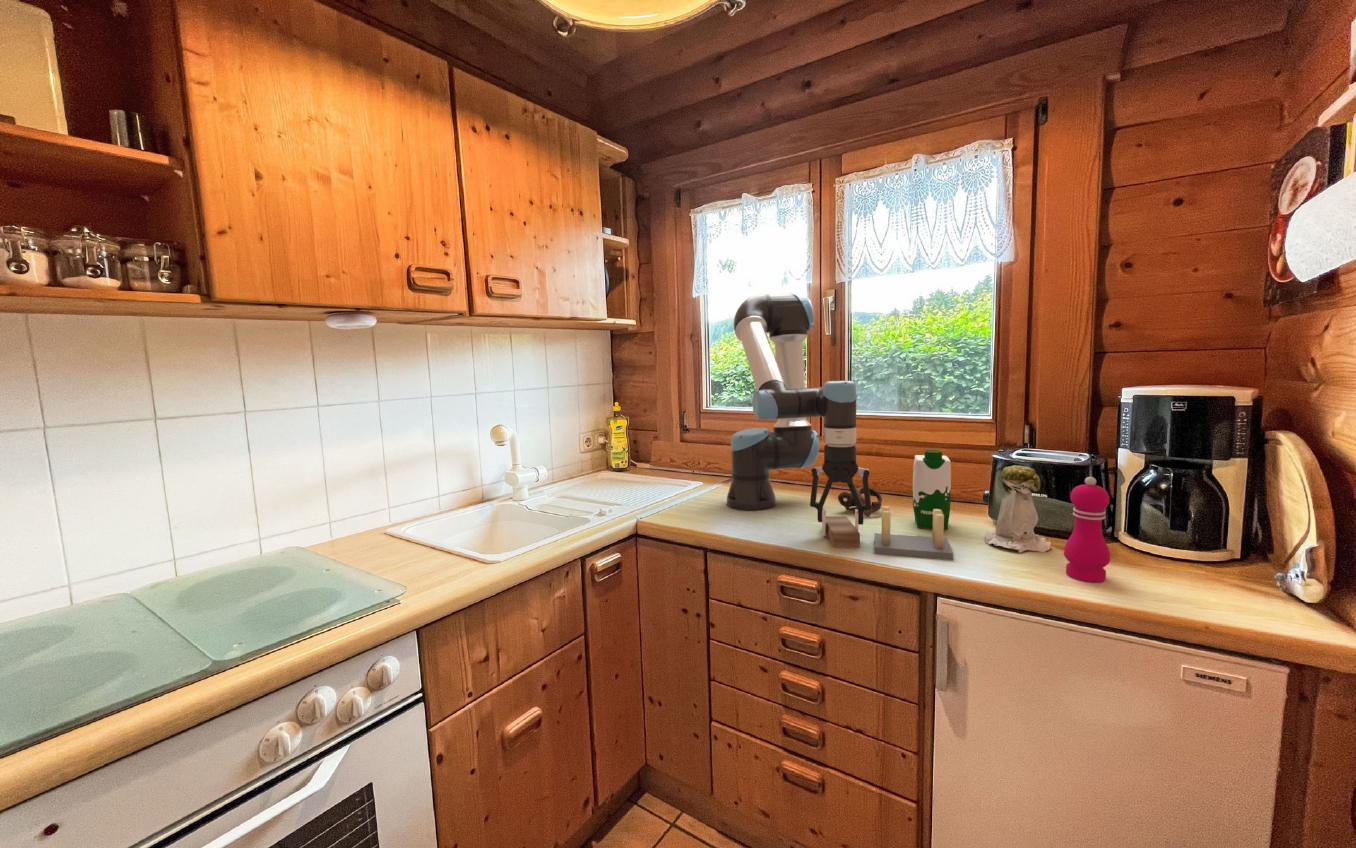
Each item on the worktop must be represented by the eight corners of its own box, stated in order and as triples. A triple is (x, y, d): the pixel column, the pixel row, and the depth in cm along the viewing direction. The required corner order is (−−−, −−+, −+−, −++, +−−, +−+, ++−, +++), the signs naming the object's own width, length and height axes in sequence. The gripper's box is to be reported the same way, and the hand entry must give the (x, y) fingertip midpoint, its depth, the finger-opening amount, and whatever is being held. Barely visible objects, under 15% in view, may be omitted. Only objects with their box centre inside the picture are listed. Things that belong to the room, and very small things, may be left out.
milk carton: (914, 529, 136) (915, 452, 134) (911, 518, 145) (912, 446, 142) (952, 531, 133) (954, 453, 131) (946, 520, 142) (948, 447, 140)
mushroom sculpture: (972, 537, 129) (975, 462, 127) (1023, 534, 130) (1026, 460, 128) (1006, 554, 117) (1009, 472, 115) (1061, 551, 118) (1065, 469, 116)
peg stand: (874, 553, 121) (874, 515, 120) (874, 539, 130) (874, 503, 129) (953, 559, 115) (953, 519, 114) (946, 544, 124) (947, 507, 123)
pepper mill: (1053, 570, 108) (1058, 474, 105) (1086, 568, 108) (1092, 472, 106) (1083, 585, 101) (1089, 482, 98) (1119, 582, 101) (1125, 480, 99)
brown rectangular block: (859, 548, 124) (859, 533, 124) (833, 548, 125) (833, 533, 125) (846, 529, 138) (846, 516, 138) (822, 529, 139) (822, 516, 138)
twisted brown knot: (868, 507, 159) (880, 487, 154) (876, 529, 151) (889, 509, 147) (830, 499, 158) (841, 478, 154) (836, 521, 150) (848, 500, 146)
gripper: (796, 446, 129) (797, 537, 131) (884, 447, 122) (883, 543, 125) (800, 441, 136) (801, 528, 139) (883, 442, 129) (883, 533, 132)
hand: (840, 535), depth 132 cm, fingers closed on brown rectangular block, 7 cm apart
